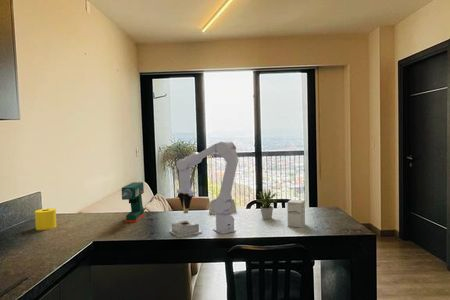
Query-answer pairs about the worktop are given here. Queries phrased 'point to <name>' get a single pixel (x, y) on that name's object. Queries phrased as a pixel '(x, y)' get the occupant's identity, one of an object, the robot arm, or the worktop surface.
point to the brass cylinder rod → (184, 208)
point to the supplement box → (296, 213)
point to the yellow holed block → (45, 219)
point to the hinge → (211, 211)
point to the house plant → (266, 204)
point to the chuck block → (185, 228)
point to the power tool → (134, 200)
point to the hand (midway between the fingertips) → (185, 208)
